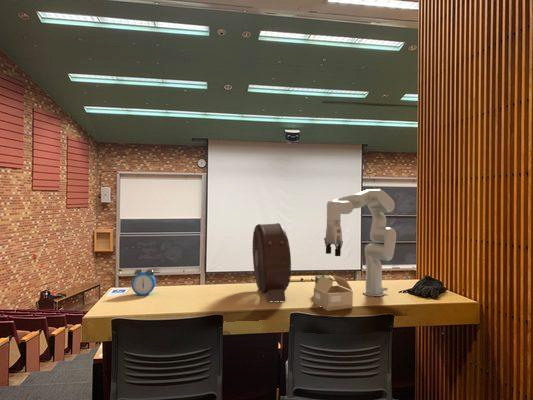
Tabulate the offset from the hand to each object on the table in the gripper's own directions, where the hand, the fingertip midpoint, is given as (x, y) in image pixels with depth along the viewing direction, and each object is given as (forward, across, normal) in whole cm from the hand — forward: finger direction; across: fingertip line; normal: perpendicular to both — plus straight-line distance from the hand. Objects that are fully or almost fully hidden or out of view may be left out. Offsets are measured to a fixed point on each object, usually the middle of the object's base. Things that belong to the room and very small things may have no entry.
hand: (333, 254), depth 193 cm
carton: (+28, 0, 0) cm, 28 cm away
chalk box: (+28, +19, -6) cm, 35 cm away
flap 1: (+16, 0, +6) cm, 17 cm away
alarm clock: (+28, +56, +95) cm, 114 cm away
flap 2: (+16, 0, -6) cm, 17 cm away
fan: (+28, +32, +24) cm, 49 cm away
